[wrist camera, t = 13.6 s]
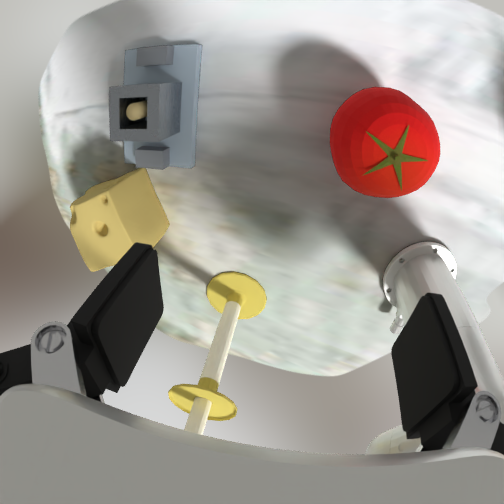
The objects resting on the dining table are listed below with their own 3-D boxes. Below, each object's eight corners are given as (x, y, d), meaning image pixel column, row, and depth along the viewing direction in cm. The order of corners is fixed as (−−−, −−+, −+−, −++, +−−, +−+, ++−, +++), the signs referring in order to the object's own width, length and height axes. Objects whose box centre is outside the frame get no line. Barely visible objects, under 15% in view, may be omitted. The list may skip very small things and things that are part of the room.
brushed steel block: (182, 82, 30) (159, 83, 25) (180, 132, 33) (158, 142, 28) (136, 83, 30) (109, 87, 25) (135, 130, 34) (110, 140, 29)
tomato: (393, 75, 27) (437, 74, 16) (421, 157, 31) (468, 194, 20) (308, 105, 31) (311, 115, 20) (343, 184, 35) (359, 233, 25)
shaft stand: (195, 165, 37) (174, 182, 31) (130, 160, 38) (102, 176, 32) (202, 45, 28) (179, 38, 23) (131, 50, 29) (100, 49, 23)
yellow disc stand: (215, 262, 45) (108, 515, 14) (276, 286, 46) (223, 549, 14) (201, 305, 51) (117, 513, 19) (254, 325, 51) (201, 541, 20)
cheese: (96, 183, 41) (56, 211, 33) (148, 161, 38) (108, 187, 30) (122, 239, 46) (90, 274, 38) (175, 226, 43) (145, 264, 35)
